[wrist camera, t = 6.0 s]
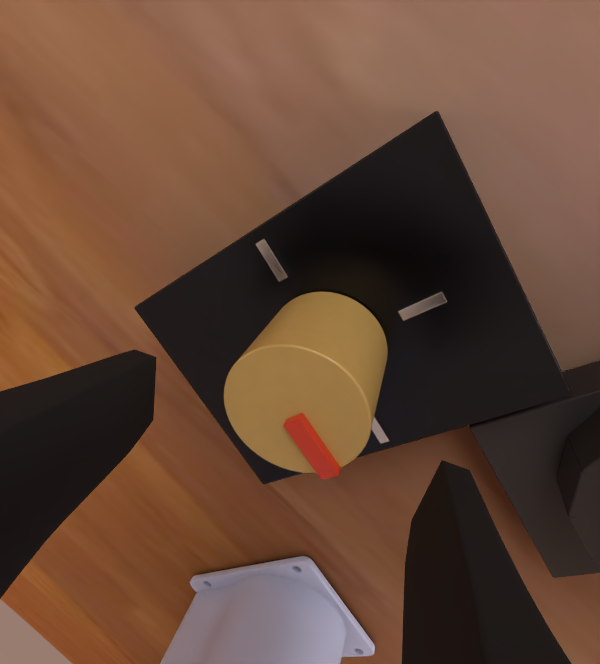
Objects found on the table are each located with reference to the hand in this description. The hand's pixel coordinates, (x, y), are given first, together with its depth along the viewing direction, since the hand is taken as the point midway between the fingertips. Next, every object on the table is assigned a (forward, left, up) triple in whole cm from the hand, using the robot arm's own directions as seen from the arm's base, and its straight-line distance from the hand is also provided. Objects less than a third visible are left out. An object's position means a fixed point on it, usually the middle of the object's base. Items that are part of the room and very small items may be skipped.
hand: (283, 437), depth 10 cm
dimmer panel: (0, 0, -8) cm, 8 cm away
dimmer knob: (0, 0, -5) cm, 5 cm away
